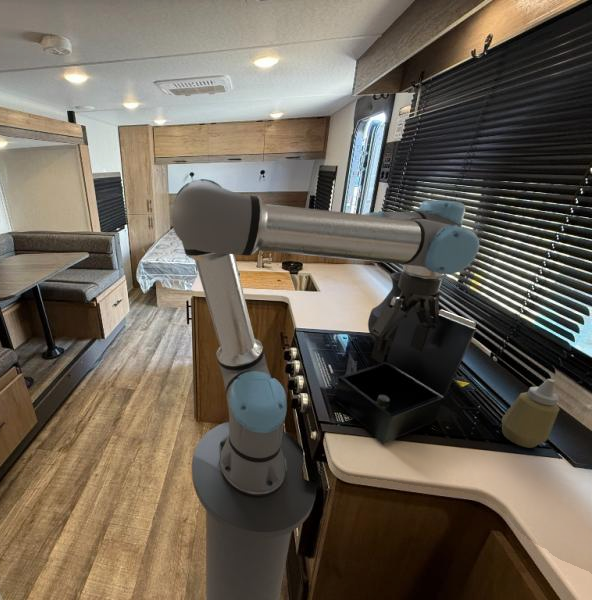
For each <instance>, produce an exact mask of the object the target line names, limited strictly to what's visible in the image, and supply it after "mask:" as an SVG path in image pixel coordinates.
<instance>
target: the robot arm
mask: <svg viewBox="0 0 592 600" xmlns="http://www.w3.org/2000/svg"><path fill="white" fill-rule="evenodd" d="M465 212H466V205H465V204H464V203H463V202H460V201H455V200H443V199H442V200H441V199H432V200H431V199H430V200H424V201H422V202H421V203H420V206H419V208H418V209H417V211H416V210H415V211H381V210H380V211H375V212H374V211H373V212H366V213H363V214H362V213H352V212H344V211H334V210H326V209H325V210H324V209H318V208H317V209H315V208H306V207H298V206H297V207H296V206H289V205H279V204H271V203H264V201H263V200H262V198H261V197H260V196H258V195H250V194H249V195H248V194H244V193H239V192H235V191H232V190H230V189H226V188H225V187H223V186H222V185H220V184H219V183H218V182H216V181H214V180H211V179H207V178H200V179H193V180H191V181H189V182H187V183H185V184H184V185H183V186H182V187H181V188H180V189H179V191H177V193H176V195H175V198H174V201H173V205H172V209H171V225H172V227H173V228H172V229H173V230H174V233H175V235H176V236H177V238H178V239H179V240H180V241H181V243H182V246H183V247H182V248H183V250H184V253H185V255H186V257H188V258H191V259H192V260H194V263H195V266H196V270H197V272H198V273H197V274H198V276H199V280H200V283H201V286H202V291H203V293H204V296H205V300H206V303H207V306H208V310H209V313H210V317H211V320H212V324H213V328H214V331H215V334H216V337H217V341H218V345H219V347H218V348H217V351H216V359H217V363H218V366H219V369H220V372H221V375H222V379H223V383H224V384H223V385H224V390H225V396H226V402H227V403H226V404H227V408H228V422H229V437H228V439H227V441H226V442H220V445H221V446H224V447H223V449H222V452H221V456H220V468H221V472H222V475H223V477H224V479H225V480H226V482H227V483H228V484H229V485H230V486H231V487H232V488H233V489H234V490H236V491H237V492H239V493H241V494H243V495H246V496H250V497H266V496H269V495H272V494H273V493H275V492H276V491H278V490H279V489H280V487H281V486H282V484H283V482H284V480H285V474H286V470H287V467H286V459H284V456H283V452H282V449H281V441H282V434H283V431H284V426H285V420H286V416H287V411H288V403H287V402H288V401H287V394H286V391H285V388H284V387H283V385H282V383H280V381H279V380H277V379H276V378H274V377H273V378H272V376H271V373H270V371H269V367H268V363H267V361H266V356H265V351H264V347H263V344H262V342H261V341H260V340H259V339H257V338H255V336H254V332H253V327H252V323H251V320H250V318H251V317H250V314H249V311H248V306H247V301H246V298H245V294H244V289H243V285H242V281H241V277H240V272H239V269H238V264H237V263H238V262H237V260H236V256H235V255H238V256H246V257H247V256H249V257H251V256H252V255H254V254H255V253H256V252H258V251H260V252H271V253H280V254H281V253H282V254H292V255H293V254H294V255H302V256H312V257H313V256H314V257H324V258H332V259H333V258H334V259H342V260H343V259H344V260H354V261H355V260H357V261H364V262H365V261H366V262H373V263H374V262H375V263H385V264H394V265H395V264H397V265H402V270H403V271H401V272H402V273H401V276H400V280H399V283H398V287H399V288H400V289H401V291H402V292H401V294H400V296H399V297H394V296H390V297H389V299H388V302H387V305H386V307H385V308H384V310H383V311H382V313H381V315H380V316H379V318H378V319H377V321H376V323H375V324H374V326H373V327H372V329H371V331H370V333H369V335H370V334H371V335H373V336H375V337H376V338H375V341H374V343H373V345H372V346H373V348H372V352H371V356H370V358H371V359H373V360H374V361H376V362H378V363H380V364H382V363H384V361H385V357H386V355H385V354H386V350H387V347H388V343H389V340H390V339H388V337H389V335H390V334H391V333H392V332H393V331H394V330H395V328H396V327H397V326H398V325H399V324H400V322H401V321H402V320H403V319H404V318H406V317H408V316H409V315H410V314H412V313H414V312H416V314H417V316H418V319H419V321H420V323H421V324H417V325H416V329H415V332H414V335H413V338H412V341H411V344H410V347H412V348H414V349H416V350H418V351H422V350H423V347H424V344H425V341H426V338H427V335H428V332H429V330H430V328H432V329H435V328H436V326H437V325H435V324H437V323H438V322H439V310H440V295H441V291H440V287H441V284H442V281H443V278H442V276H444V275H453V274H456V273H460V272H461V271H463V270H465V269H467V268H468V267H469V266H470V265H471V264H472V263H473V262H474V261H475V259H476V256H477V255H478V252H479V250H480V240H479V237H478V236H477V234H476V233H475V232H473V231H472V230H470V229H468V228H465V227H463V220H464V217H465ZM400 309H401V310H402V311H401V310H400ZM403 311H404V312H403ZM431 316H432V317H431ZM434 323H435V324H434ZM371 335H370V336H371Z"/></svg>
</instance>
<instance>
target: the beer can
mask: <svg viewBox="0 0 592 600" xmlns="http://www.w3.org/2000/svg"><path fill="white" fill-rule="evenodd" d="M389 402H390V399H389V397H387V396H386V395H379V396H378V398H377V401H376V403H378V404H379V405H380V406H382V407H383V408H384V409H386V410H387V409H388V405H389Z"/></svg>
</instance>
